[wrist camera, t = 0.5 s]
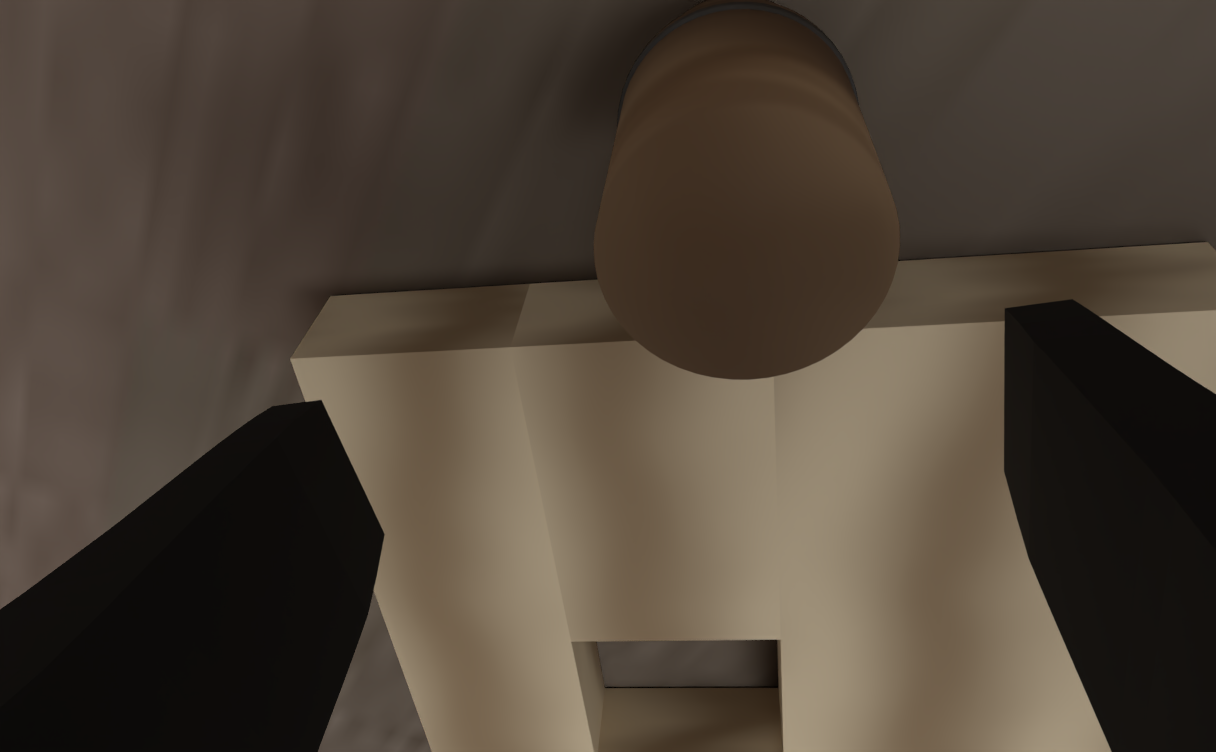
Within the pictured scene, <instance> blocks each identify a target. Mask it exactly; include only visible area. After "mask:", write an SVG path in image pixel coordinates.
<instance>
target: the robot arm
mask: <svg viewBox="0 0 1216 752" xmlns="http://www.w3.org/2000/svg"><path fill="white" fill-rule="evenodd" d="M1004 473H1005V477H1006V480H1007V484H1008V488H1009V491H1010V495H1011V499H1012V502H1013V506H1014V510H1015V513H1016V517H1017V521H1018V524H1019V528H1020V531H1021V534H1022V538H1023V541H1024V545H1025V548H1026V551H1027V555H1028V558H1029V561H1030V563H1031V566H1032V568H1033V570H1034V573H1035V575H1036V578H1037V580H1038V582H1039V585H1040V587H1041V589H1042V592H1043V594H1044V596H1045V599H1046V601H1047V603H1048V606H1049V608H1050V611H1051V613H1052V615H1053V618H1054V620H1055V622H1056V625H1057V627H1058V629H1059V632H1060V634H1061V636H1062V639H1063V641H1064V643H1065V645H1066V648H1067V650H1068V652H1069V655H1070V657H1071V659H1072V662H1073V664H1074V666H1075V669H1076V671H1077V673H1078V675H1079V678H1080V680H1081V682H1082V685H1083V687H1084V689H1085V692H1086V694H1087V696H1088V699H1089V701H1090V703H1091V705H1092V708H1093V710H1094V712H1095V715H1096V717H1097V719H1098V722H1099V724H1100V726H1101V729H1102V731H1103V733H1104V735H1105V738H1106V740H1107V742H1108V745H1109V747H1110V749H1111V752H1216V394H1215V393H1213V392H1212V391H1210V390H1209V389H1207V388H1205V387H1204V386H1202V385H1201V384H1199V383H1198V382H1196V381H1194V380H1193V379H1191V378H1190V377H1188V376H1187V375H1185V374H1184V373H1182V372H1181V371H1179V370H1178V369H1176V368H1175V367H1173V366H1172V365H1170V364H1169V363H1167V362H1166V361H1164V360H1163V359H1161V358H1160V357H1158V356H1157V355H1155V354H1154V353H1152V352H1151V351H1149V350H1148V349H1146V348H1145V347H1143V346H1142V345H1140V344H1139V343H1137V342H1136V341H1134V340H1133V339H1131V338H1130V337H1129V336H1127V335H1126V334H1124V333H1123V332H1121V331H1120V330H1118V329H1117V328H1115V327H1114V326H1112V325H1111V324H1110V323H1108V322H1107V321H1105V320H1104V319H1102V318H1101V317H1099V316H1098V315H1096V314H1095V313H1093V312H1092V311H1090V310H1089V309H1087V308H1086V307H1084V306H1083V305H1081V304H1080V303H1078V302H1076V301H1075V300H1073V299H1069V300H1062V301H1054V302H1047V303H1039V304H1032V305H1025V306H1017V307H1010V308H1005V333H1004ZM384 536H385V534H384V532H383V529H382V527H381V525H380V523H379V521H378V519H377V517H376V515H375V512H374V510H373V508H372V506H371V504H370V502H369V500H368V498H367V495H366V493H365V491H364V489H363V487H362V485H361V483H360V481H359V479H358V476H357V474H356V472H355V470H354V468H353V466H352V464H351V462H350V459H349V457H348V455H347V453H346V451H345V449H344V447H343V445H342V442H341V440H340V438H339V436H338V434H337V432H336V430H335V428H334V425H333V423H332V421H331V419H330V417H329V415H328V413H327V411H326V408H325V406H324V404H323V402H322V400H316V401H309V402H301V403H294V404H287V405H279V406H272V407H271V408H269V409H267V410H266V411H264V412H263V413H261V414H259V415H258V416H256V417H255V418H253V419H252V420H250V421H249V422H247V423H246V424H244V425H243V426H242V427H240V428H239V429H238V430H236V431H235V432H233V433H232V434H231V435H229V436H228V437H227V438H225V439H224V440H223V441H221V442H220V443H219V444H217V445H216V446H215V447H214V448H212V449H211V450H210V451H208V452H207V453H206V454H205V455H203V456H202V457H201V458H199V459H198V460H197V461H196V462H194V463H193V464H192V465H191V466H189V467H188V468H187V469H185V470H184V471H183V472H182V473H180V474H179V475H178V476H177V477H175V478H174V479H173V480H172V481H170V482H169V483H168V484H166V485H165V486H164V487H163V488H161V489H160V490H159V491H158V492H156V493H155V494H154V495H153V496H151V497H150V498H149V499H147V500H146V501H145V502H144V503H142V504H141V505H140V506H139V507H137V508H136V509H135V510H134V511H132V512H131V513H130V514H128V515H127V516H126V517H125V518H123V519H122V520H121V521H120V522H118V523H117V524H116V525H114V526H113V527H112V528H111V529H109V530H108V531H107V532H105V533H104V534H103V535H101V536H100V537H98V538H97V539H96V540H94V541H93V542H92V543H90V544H89V545H88V546H86V547H85V548H84V549H82V550H81V551H80V552H78V553H77V554H76V555H74V556H73V557H72V558H70V559H69V560H68V561H66V562H65V563H64V564H62V565H61V566H59V567H58V568H57V569H55V570H54V571H53V572H51V573H50V574H49V575H47V576H46V577H45V578H43V579H42V580H41V581H39V582H38V583H37V584H35V585H34V586H33V587H31V588H30V589H29V590H27V591H26V592H25V593H23V594H22V595H20V596H19V597H17V598H16V599H14V600H13V601H12V602H10V603H9V604H7V605H6V606H4V607H3V608H2V609H0V752H318V749H319V746H320V744H321V741H322V738H323V736H324V733H325V730H326V728H327V725H328V722H329V720H330V717H331V714H332V712H333V709H334V706H335V704H336V701H337V698H338V696H339V693H340V690H341V688H342V685H343V682H344V680H345V677H346V674H347V671H348V669H349V666H350V663H351V660H352V658H353V655H354V652H355V649H356V647H357V644H358V641H359V638H360V636H361V633H362V630H363V627H364V624H365V621H366V618H367V615H368V612H369V607H370V603H371V599H372V594H373V590H374V586H375V582H376V577H377V572H378V567H379V562H380V556H381V551H382V546H383V541H384Z"/></svg>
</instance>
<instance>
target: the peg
mask: <svg viewBox="0 0 1216 752" xmlns="http://www.w3.org/2000/svg"><path fill="white" fill-rule="evenodd" d="M899 250H900V226H899V220H898V215H897V209H896V206H895V203H894V200H893V197H892V194H891V191H890V189H889V186H888V183H887V180H886V178H885V175H884V172H883V170H882V167H881V164H880V161H879V159H878V156H877V153H876V151H875V148H874V145H873V143H872V140H871V137H870V134H869V132H868V129H867V126H866V124H865V121H864V118H863V115H862V113H861V110H860V107H859V103H858V98H857V92H856V88H855V85H854V82H853V79H852V76H851V73H850V71H849V68H848V66H847V64H846V63H845V61H844V59H843V57H842V55H841V54H840V52H839V51H838V49H837V48H836V46H835V45H834V44H833V42H832V41H831V40H830V39H829V38H828V37H827V36H826V35H825V34H824V33H823V32H822V31H821V30H820V29H819V28H818V27H817V26H815V25H814V24H813V23H811V22H810V21H809V20H808V19H806V18H805V17H803V16H802V15H800V14H798V13H796V12H795V11H793V10H791V9H788V8H786V7H783V6H781V5H778V4H775V3H774V2H771V1H769V0H706V1H704V2H702V3H700V4H698V5H696V6H694V7H693V8H691V9H690V10H688V11H687V12H686V13H684V14H683V15H681V16H680V17H678V18H677V19H675V20H673V21H672V22H671V23H669V24H668V25H667V26H666V27H665V28H663V29H662V30H661V31H660V32H659V33H658V34H657V35H656V36H655V37H654V38H653V39H652V40H651V41H650V42H649V43H648V45H647V46H646V47H645V49H644V50H643V52H642V53H641V54H640V56H639V57H638V59H637V60H636V61H635V63H634V65H633V67H632V69H631V71H630V73H629V75H628V77H627V80H626V83H625V85H624V88H623V91H622V96H621V100H620V104H619V109H618V119H617V132H616V137H615V141H614V146H613V150H612V155H611V159H610V164H609V169H608V173H607V178H606V182H605V187H604V191H603V196H602V200H601V205H600V209H599V214H598V219H597V223H596V228H595V236H594V262H595V269H596V273H597V278H598V282H599V285H600V288H601V291H602V293H603V296H604V299H605V300H606V302H607V304H608V306H609V308H610V310H611V312H612V313H613V315H614V316H615V318H616V319H617V320H618V322H619V323H620V324H621V326H622V327H623V328H624V329H625V330H626V331H627V332H628V333H629V335H630V336H631V337H632V338H633V339H634V340H635V341H637V342H638V343H639V344H640V345H642V346H643V347H644V348H645V349H646V350H648V351H649V352H651V353H652V354H654V355H655V356H657V357H659V358H660V359H662V360H664V361H666V362H668V363H670V364H672V365H674V366H676V367H678V368H681V369H684V370H687V371H690V372H693V373H695V374H700V375H704V376H709V377H713V378H722V379H731V380H751V379H761V378H769V377H774V376H779V375H784V374H788V373H791V372H794V371H797V370H800V369H803V368H805V367H808V366H810V365H812V364H814V363H817V362H819V361H821V360H823V359H824V358H826V357H828V356H829V355H831V354H833V353H834V352H836V351H838V350H839V349H840V348H842V347H843V346H844V345H845V344H847V343H848V342H849V341H851V340H852V339H853V338H854V337H855V336H856V335H857V334H858V333H859V332H860V331H861V330H862V329H863V328H864V327H865V326H866V325H867V324H868V322H869V321H870V320H871V319H872V317H873V316H874V315H875V314H876V312H877V311H878V309H879V307H880V306H881V304H882V302H883V301H884V299H885V297H886V295H887V293H888V291H889V288H890V286H891V284H892V282H893V278H894V275H895V271H896V268H897V264H898V258H899Z"/></svg>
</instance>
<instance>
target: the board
mask: <svg viewBox="0 0 1216 752" xmlns="http://www.w3.org/2000/svg"><path fill="white" fill-rule="evenodd" d="M1069 299H1073V300H1075V301H1076V302H1078V303H1080V304H1081V305H1083V306H1084V307H1086V308H1087V309H1089V310H1090V311H1092V312H1093V313H1095V314H1096V315H1098V316H1099V317H1101V318H1102V319H1104V320H1105V321H1107V322H1108V323H1110V324H1111V325H1112V326H1114V327H1115V328H1117V329H1118V330H1120V331H1121V332H1123V333H1124V334H1126V335H1127V336H1129V337H1130V338H1131V339H1133V340H1134V341H1136V342H1137V343H1139V344H1140V345H1142V346H1143V347H1145V348H1146V349H1148V350H1149V351H1151V352H1152V353H1154V354H1155V355H1157V356H1158V357H1160V358H1161V359H1163V360H1164V361H1166V362H1167V363H1169V364H1170V365H1172V366H1173V367H1175V368H1176V369H1178V370H1179V371H1181V372H1182V373H1184V374H1185V375H1187V376H1188V377H1190V378H1191V379H1193V380H1194V381H1196V382H1198V383H1199V384H1201V385H1202V386H1204V387H1205V388H1207V389H1209V390H1210V391H1212V392H1213V393H1215V394H1216V250H1215V249H1214V248H1213V247H1212V246H1211V245H1210V244H1209V243H1208V242H1199V243H1183V244H1167V245H1150V246H1134V247H1118V248H1102V249H1085V250H1069V251H1053V252H1037V253H1021V254H1004V255H988V256H972V257H956V258H939V259H923V260H907V261H898V264H897V268H896V271H895V275H894V278H893V282H892V284H891V286H890V288H889V291H888V293H887V295H886V297H885V299H884V301H883V302H882V304H881V306H880V307H879V309H878V311H877V312H876V314H875V315H874V316H873V317H872V319H871V320H870V321H869V322H868V324H867V325H866V326H865V327H864V328H863V329H862V330H861V331H860V332H859V333H858V334H857V335H856V336H855V337H854V338H853V339H852V340H851V341H849V342H848V343H847V344H845V345H844V346H843V347H842V348H840V349H839V350H838V351H836V352H834V353H833V354H831V355H829V356H828V357H826V358H824V359H823V360H821V361H819V362H817V363H814V364H812V365H810V366H808V367H805V368H803V369H800V370H797V371H794V372H791V373H788V374H784V375H779V376H774V377H769V378H761V379H751V380H731V379H722V378H713V377H709V376H704V375H700V374H695V373H693V372H690V371H687V370H684V369H681V368H678V367H676V366H674V365H672V364H670V363H668V362H666V361H664V360H662V359H660V358H659V357H657V356H655V355H654V354H652V353H651V352H649V351H648V350H646V349H645V348H644V347H643V346H642V345H640V344H639V343H638V342H637V341H635V340H634V339H633V338H632V337H631V336H630V335H629V333H628V332H627V331H626V330H625V329H624V328H623V327H622V326H621V324H620V323H619V322H618V320H617V319H616V318H615V316H614V315H613V313H612V312H611V310H610V308H609V306H608V304H607V302H606V300H605V299H604V296H603V293H602V291H601V288H600V285H599V282H598V280H583V281H566V282H550V283H534V284H518V285H501V286H485V287H469V288H453V289H437V290H420V291H404V292H388V293H372V294H355V295H339V296H330V297H329V299H328V301H327V302H326V304H325V305H324V307H323V308H322V310H321V311H320V313H319V315H318V316H317V318H316V319H315V321H314V322H313V324H312V325H311V327H310V329H309V330H308V332H307V333H306V335H305V336H304V338H303V339H302V341H301V343H300V344H299V346H298V347H297V349H296V350H295V352H294V353H293V355H292V357H291V358H290V360H291V363H292V366H293V368H294V371H295V374H296V377H297V379H298V382H299V385H300V388H301V390H302V393H303V396H304V399H305V402H309V401H316V400H322V402H323V404H324V406H325V408H326V411H327V413H328V415H329V417H330V419H331V421H332V423H333V425H334V428H335V430H336V432H337V434H338V436H339V438H340V440H341V442H342V445H343V447H344V449H345V451H346V453H347V455H348V457H349V459H350V462H351V464H352V466H353V468H354V470H355V472H356V474H357V476H358V479H359V481H360V483H361V485H362V487H363V489H364V491H365V493H366V495H367V498H368V500H369V502H370V504H371V506H372V508H373V510H374V512H375V515H376V517H377V519H378V521H379V523H380V525H381V527H382V529H383V532H384V534H385V536H384V541H383V546H382V551H381V556H380V562H379V567H378V572H377V577H376V582H375V586H374V593H375V595H376V598H377V601H378V604H379V606H380V609H381V612H382V615H383V618H384V620H385V623H386V626H387V629H388V631H389V634H390V637H391V640H392V642H393V645H394V648H395V651H396V654H397V656H398V659H399V662H400V665H401V667H402V670H403V673H404V676H405V678H406V681H407V684H408V687H409V690H410V692H411V695H412V698H413V701H414V703H415V706H416V709H417V712H418V714H419V717H420V720H421V723H422V726H423V728H424V731H425V734H426V737H427V739H428V742H429V745H430V748H431V750H432V752H1111V749H1110V747H1109V745H1108V742H1107V740H1106V738H1105V735H1104V733H1103V731H1102V729H1101V726H1100V724H1099V722H1098V719H1097V717H1096V715H1095V712H1094V710H1093V708H1092V705H1091V703H1090V701H1089V699H1088V696H1087V694H1086V692H1085V689H1084V687H1083V685H1082V682H1081V680H1080V678H1079V675H1078V673H1077V671H1076V669H1075V666H1074V664H1073V662H1072V659H1071V657H1070V655H1069V652H1068V650H1067V648H1066V645H1065V643H1064V641H1063V639H1062V636H1061V634H1060V632H1059V629H1058V627H1057V625H1056V622H1055V620H1054V618H1053V615H1052V613H1051V611H1050V608H1049V606H1048V603H1047V601H1046V599H1045V596H1044V594H1043V592H1042V589H1041V587H1040V585H1039V582H1038V580H1037V578H1036V575H1035V573H1034V570H1033V568H1032V566H1031V563H1030V561H1029V558H1028V555H1027V551H1026V548H1025V545H1024V541H1023V538H1022V534H1021V531H1020V528H1019V524H1018V521H1017V517H1016V513H1015V510H1014V506H1013V502H1012V499H1011V495H1010V491H1009V488H1008V484H1007V480H1006V477H1005V473H1004V333H1005V308H1010V307H1017V306H1025V305H1032V304H1039V303H1047V302H1054V301H1062V300H1069ZM690 640H777V655H778V688H605V686H604V681H603V675H602V670H601V665H600V659H599V654H598V648H597V643H596V641H690Z"/></svg>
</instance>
